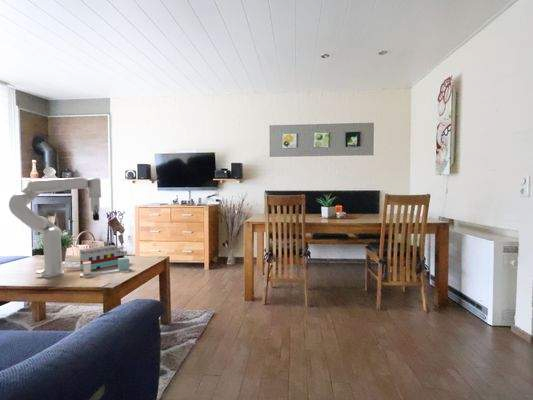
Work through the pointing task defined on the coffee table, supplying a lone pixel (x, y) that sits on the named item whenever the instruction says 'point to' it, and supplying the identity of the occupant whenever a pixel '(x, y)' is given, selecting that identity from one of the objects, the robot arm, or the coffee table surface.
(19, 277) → the coffee table surface
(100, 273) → the shelf board
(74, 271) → the coffee table surface
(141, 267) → the coffee table surface
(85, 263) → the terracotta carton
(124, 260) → the teal carton
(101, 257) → the toy vehicle
